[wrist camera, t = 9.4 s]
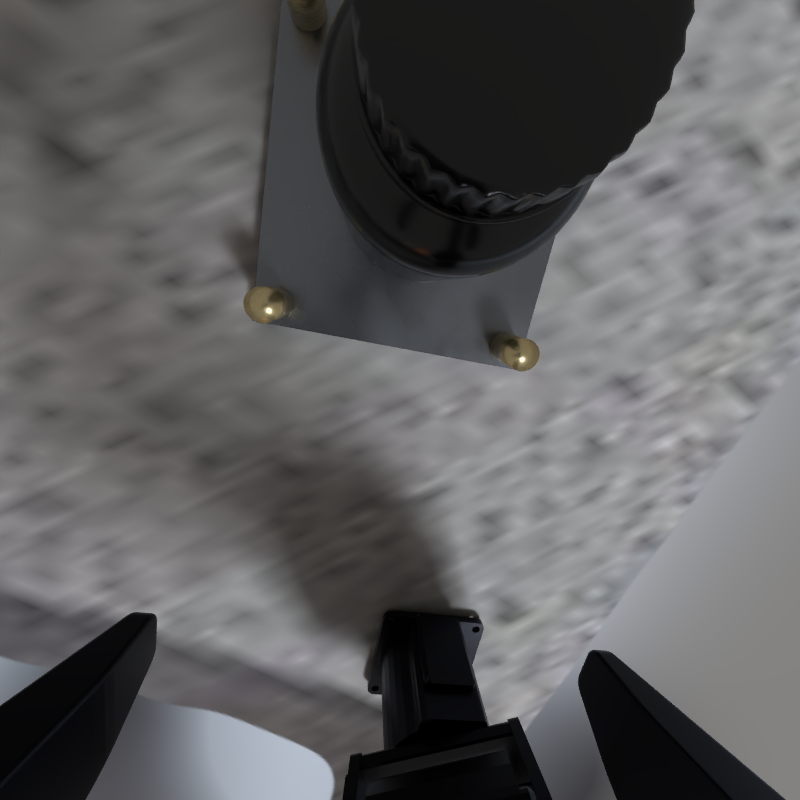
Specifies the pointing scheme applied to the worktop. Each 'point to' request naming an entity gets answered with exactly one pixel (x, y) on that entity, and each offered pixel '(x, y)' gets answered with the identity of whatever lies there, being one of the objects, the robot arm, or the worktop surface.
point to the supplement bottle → (482, 119)
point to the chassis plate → (341, 255)
